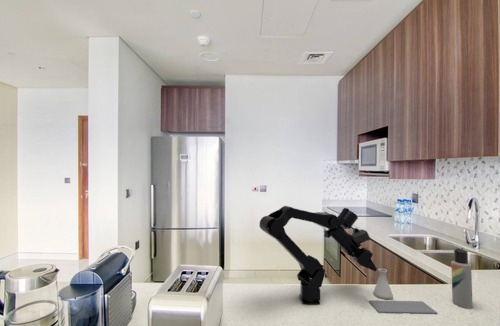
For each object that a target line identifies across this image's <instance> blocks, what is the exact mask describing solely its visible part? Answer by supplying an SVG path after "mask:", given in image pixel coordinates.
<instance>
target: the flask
mask: <svg viewBox="0 0 500 326" xmlns="http://www.w3.org/2000/svg"><path fill="white" fill-rule="evenodd" d="M377 271H378V277H377V278H378V279H377V282H376V285H375V287H374V289H373V292H372V294H373V295H374V296H375V297H376V298H378V299H382V298H383V299H384V300H393V299H394V295H393V292H392V290H391V287H390V284H389V281H388V277H387V272H388V270H387V269H385V268H377Z"/></svg>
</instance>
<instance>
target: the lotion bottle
mask: <svg viewBox="0 0 500 326" xmlns="http://www.w3.org/2000/svg"><path fill="white" fill-rule="evenodd" d="M453 256H454V257H453V260H452V261H450V262H451V263H450V264H451V293H452V294H451V295H452V296H451V297H452V303H453V304H454V305H455V306H458V307H461V308H464V309H472V308H473V280H472V279H473V278H472V276H473V275H472V273H473V272H472V265H471V263H469V259H468V256H469V255H468V250H465V249H462V248H455V249H453Z"/></svg>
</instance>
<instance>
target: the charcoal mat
mask: <svg viewBox="0 0 500 326" xmlns="http://www.w3.org/2000/svg"><path fill="white" fill-rule="evenodd" d="M368 301H369V302H370V303H369V302H368V303H369V304H370V305H371V306H372V307H373V309H374V310H375V309H376V310H375V311H376V312H377V313H378V314H403V313H410V314H411V315H414V314H416V315H420V314H421V315H438V312H437V311H436V310H434V309H433V308H432V307H431V306H429V305H428V304H427V303H425V302H424V301H423V300H422V301H421V300H420V301H419V300H379V299H378V300H374V299H373V300H372V299H371V300H368ZM410 314H409V315H410Z"/></svg>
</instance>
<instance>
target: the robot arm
mask: <svg viewBox="0 0 500 326" xmlns="http://www.w3.org/2000/svg"><path fill="white" fill-rule="evenodd" d="M291 219H294V220H295V219H296V220H301V221H305V222H310V223H313V224H315V225H317V226H319V227H322V228H325V229H327V230H323V233H324V235H323V238H326V239H328V238H329V239H330V238H332V239H333V240H334V241H335V242H336V243H337V245H338V246H340V248H341V250H342V251H343V252H344V253H345V254H346V255H348V256H350V257H351V258H353V260H354V262H356V263H357V264H358V265H359V266H361V267H364V268H366V269H369V270H370V271H371V270H372V271H374V272H377V271H378V268H377V266H376V265H375V263H374V261H373V260H372V257H373V254H374V253H372V251H371V250H370V249H368V248H367V247H362V243H364V242H365V243H366V242H367V241H370V240H371V237H370V234H369V233H368V231H367V230H366V229H365V230H364V229H359V228H357V227H355V228H353V230H352V234H350V233H348V232H347V230H350V229H351V228H352V227H353V226H354V224H355V223H356V221H357V220H359V219H358V215H357V213H354V211H352V210H350V209H349V208H347V207H343V209H342V211H341V212H340V213H339V214H338V216H337V215H336V214H333V213H328V212H323V211H321V212H318V211H317V212H316V211H315V212H311V211H307V210H302V209H300V208H299V209H298V208H296V207H295V208H294V207H292V206H289V205H284V206H282V207H281V208H279V209H277V210H275V211H273V212H271V213H269V214H268V215H264V216H263V217H262V218H261V219H260V221H259V228H260V229H261V230H262V231H263V232H264V233H265V234H267V235H269V236H270V237H272V238H273V239H275V240H276V241H277V242H278V243H279V244H280V245H281V246H282V247H283V248H284V249H285V251H286V252H288V253H289V255H290V256H292V258H293V259H294V260H295V261H296V262H297V264H299V268H300V270H299V272H298V273H297V275H296V277H297V279H298V280H297V281H300V294H299V299H300V301H301V303H302V305H321V302H320V301H321V289H320V288H321V287H322V285H323V282H324V278H325V275H326V270H325V268H324V267H325V266H324V265H323V264H321V262H320V261H319V260H318V259H317V258H316V257H313V256H312V255H310V254H308V255H307V254H306V253H305V252H304V251H303V250H302V249H301V247H299V246H298V245H297V243H295V241H293V240H292V238H291V237H290V236H289V235H288V234H287V233H286V232H287V231H286V230H285V228H284V227H285V226H287V225H288V223H289V221H290V220H291Z"/></svg>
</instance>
